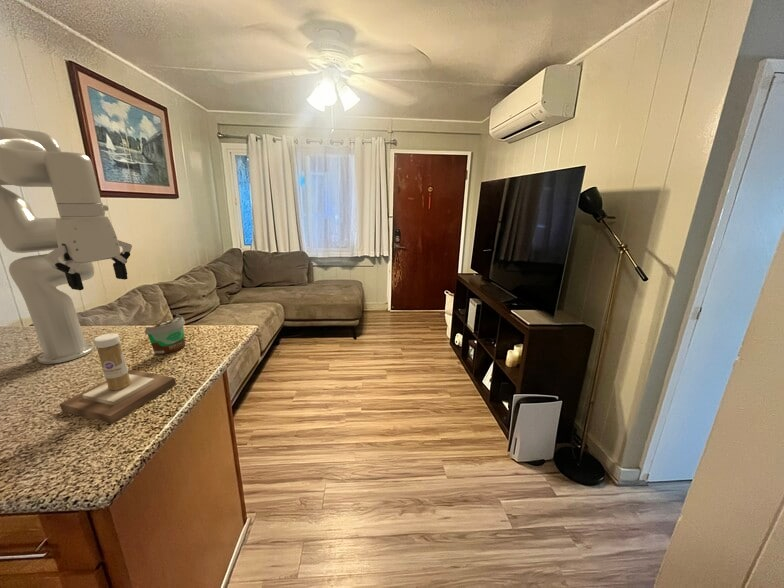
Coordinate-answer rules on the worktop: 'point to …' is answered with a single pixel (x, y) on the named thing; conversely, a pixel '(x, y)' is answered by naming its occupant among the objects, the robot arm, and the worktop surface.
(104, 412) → the stacking base
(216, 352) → the worktop surface
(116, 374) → the sprinkles bottle
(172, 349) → the food container
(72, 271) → the robot arm
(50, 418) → the worktop surface
